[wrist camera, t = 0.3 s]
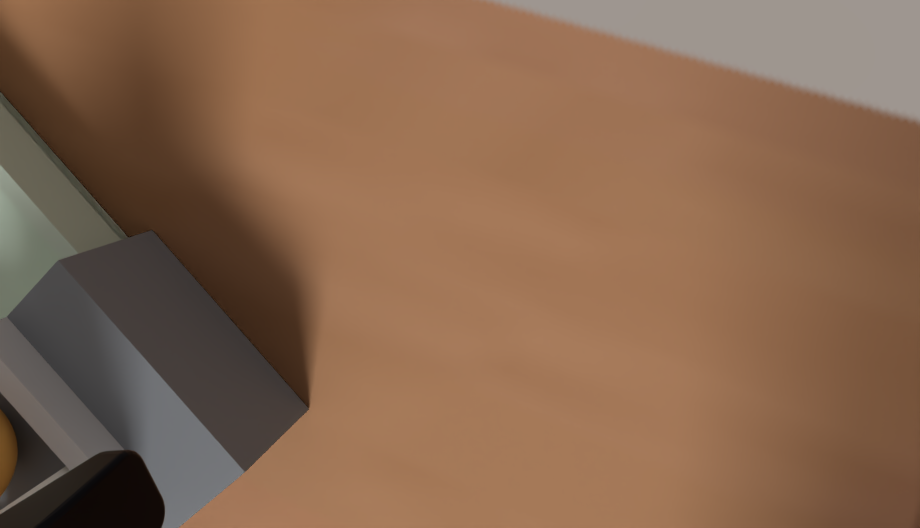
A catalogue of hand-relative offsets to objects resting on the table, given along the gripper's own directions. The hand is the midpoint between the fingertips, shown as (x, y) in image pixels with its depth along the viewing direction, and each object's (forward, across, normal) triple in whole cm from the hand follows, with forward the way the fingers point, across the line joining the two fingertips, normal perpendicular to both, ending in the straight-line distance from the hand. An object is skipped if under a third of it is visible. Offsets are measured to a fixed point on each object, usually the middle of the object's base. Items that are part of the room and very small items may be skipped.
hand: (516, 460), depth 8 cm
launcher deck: (+14, +18, +9) cm, 25 cm away
